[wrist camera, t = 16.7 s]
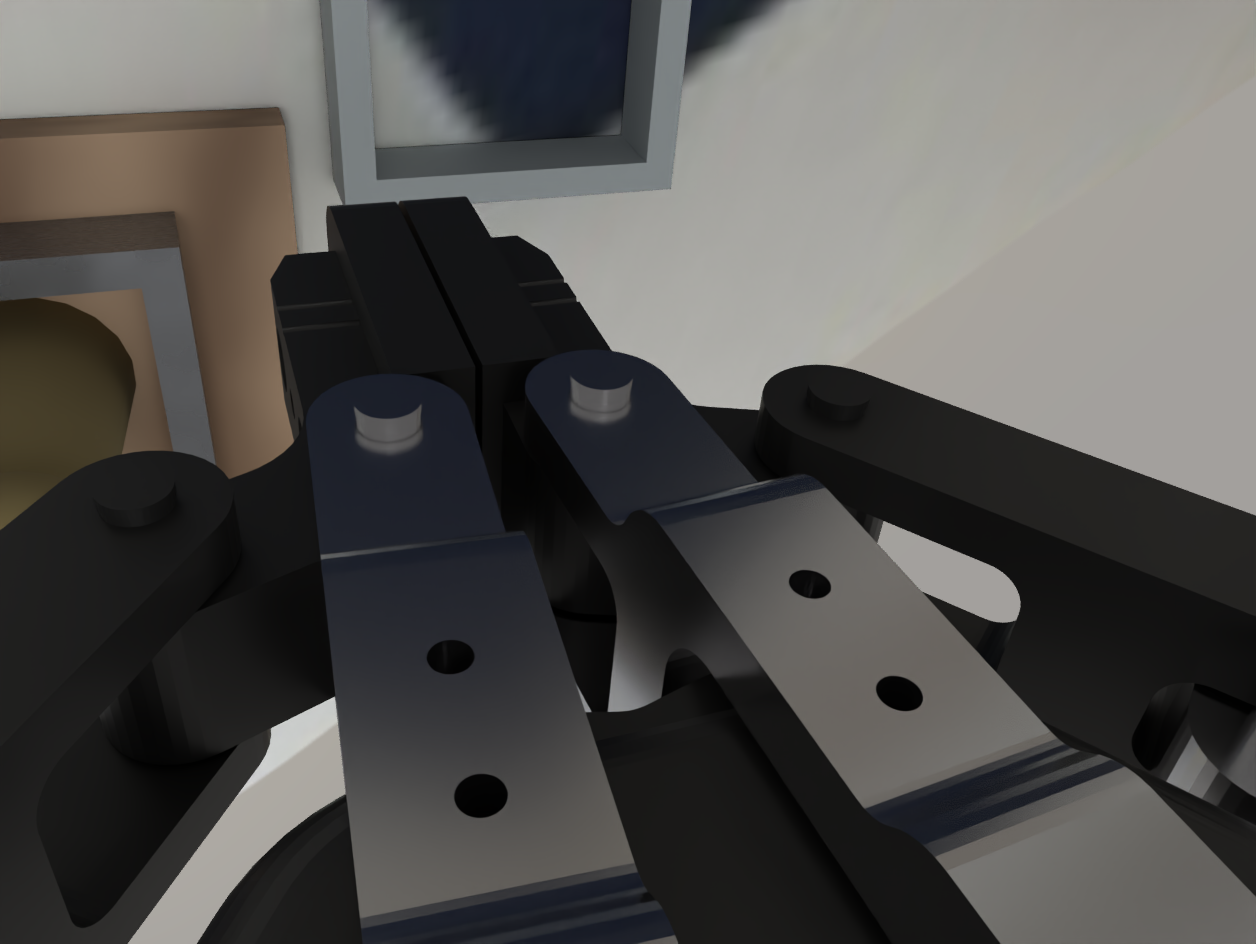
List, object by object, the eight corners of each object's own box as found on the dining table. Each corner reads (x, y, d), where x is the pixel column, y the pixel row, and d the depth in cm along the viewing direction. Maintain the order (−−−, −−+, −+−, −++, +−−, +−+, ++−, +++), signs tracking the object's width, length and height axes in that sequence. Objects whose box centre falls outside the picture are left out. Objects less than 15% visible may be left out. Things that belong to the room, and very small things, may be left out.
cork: (134, 459, 39) (145, 691, 31) (-71, 458, 37) (-116, 709, 29) (138, 303, 36) (153, 516, 28) (-85, 289, 34) (-140, 519, 26)
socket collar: (174, 211, 35) (178, 246, 33) (221, 494, 41) (227, 537, 40) (-253, 240, 31) (-274, 283, 29) (-127, 545, 38) (-138, 595, 36)
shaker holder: (677, -189, 35) (710, -175, 33) (644, 160, 41) (671, 189, 39) (304, -205, 31) (317, -190, 29) (333, 180, 38) (345, 212, 36)
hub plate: (278, 107, 36) (284, 125, 35) (319, 507, 45) (325, 531, 44) (-436, 138, 30) (-456, 160, 29) (-215, 590, 39) (-224, 619, 38)
